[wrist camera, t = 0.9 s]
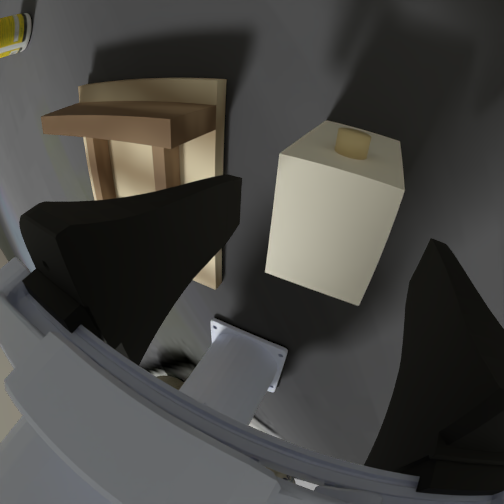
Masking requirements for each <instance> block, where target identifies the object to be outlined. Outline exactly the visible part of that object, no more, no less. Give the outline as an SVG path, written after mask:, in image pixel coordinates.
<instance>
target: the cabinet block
mask: <svg viewBox="0 0 504 504" xmlns="http://www.w3.org/2000/svg"><path fill="white" fill-rule="evenodd" d="M404 191H405V186H404V174H403V163H402V154H401V146H400V141H398V140H395V139H392V138H389V137H385V136H382V135H379V134H376V133H372V132H369V131H366V130H362V129H359V128H355V127H351V126H347V125H344V124H340V123H336V122H332V121H327V120H326V121H324V122H323V123H322V124H320V125H319V126H317V127H316V128H314V129H313V130H311V131H310V132H309V133H307V134H306V135H304V136H303V137H302V138H300V139H299V140H297V141H296V142H295V143H293V144H292V145H291V146H289V147H288V148H286V149H285V150H284V151H282V152H281V153H280V154H279V163H278V171H277V180H276V188H275V197H274V205H273V213H272V221H271V229H270V237H269V245H268V253H267V261H266V268H265V273H268V274H271V275H273V276H276V277H279V278H282V279H284V280H287V281H290V282H293V283H295V284H298V285H301V286H304V287H306V288H309V289H312V290H315V291H318V292H320V293H323V294H326V295H329V296H332V297H334V298H337V299H340V300H343V301H346V302H348V303H351V304H354V305H357V306H359V304H360V302H361V300H362V298H363V296H364V294H365V291H366V289H367V287H368V285H369V283H370V280H371V278H372V276H373V273H374V271H375V269H376V266H377V264H378V262H379V259H380V257H381V254H382V252H383V249H384V247H385V244H386V242H387V239H388V236H389V234H390V231H391V229H392V226H393V223H394V220H395V218H396V215H397V212H398V209H399V206H400V203H401V200H402V197H403V194H404Z"/></svg>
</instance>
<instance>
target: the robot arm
mask: <svg viewBox="0 0 504 504" xmlns="http://www.w3.org/2000/svg"><path fill="white" fill-rule="evenodd" d="M241 185H242V178H240V177H236V176H232V175H220V176H214V177H210V178H206V179H202V180H198V181H194V182H190V183H186V184H183V185H179V186H175V187H171V188H167V189H163V190H159V191H154V192H150V193H145V194H140V195H134V196H128V197H121V198H113V199H105V200H95V201H79V202H42V203H39V204H37V205H36V206H34V207H33V208H31V209H30V210H28V211H27V212H25V213H24V214H23V215H21V217H20V222H19V223H20V230H21V234H22V237H23V239H24V242H25V244H26V247H27V249H28V251H29V254H30V256H31V258H32V261H33V263H34V265H35V267H36V269H35V270H34V271H33V272H32V273H31V272H30V271H29V269H28V268H27V267H26V266H25V265H24V264H23V263H22V262H21V261H20V260H19V259H18V258H17V257H14V258H13V259H11V260H10V261H9V262H8V263H7V264H5V265H4V266H3V267H2V268H1V269H0V347H1V348H2V350H3V352H4V353H5V355H6V357H7V358H8V360H9V362H10V363H11V365H12V367H13V368H14V370H13V371H12V372H11V373H10V374H9V375H8V376H7V377H6V378H5V380H4V382H5V390H6V392H7V393H8V395H9V396H10V398H11V399H12V401H13V403H14V405H15V406H16V407H17V409H18V410H19V411H20V412H21V414H22V415H23V416H22V417H21V419H20V420H19V421H18V422H17V423H16V424H15V426H14V427H13V428H12V429H11V431H10V432H9V433H8V434H7V435H6V437H5V438H4V439H3V441H2V442H1V443H0V504H504V329H503V328H502V326H501V325H500V324H499V322H498V321H497V319H496V318H495V317H494V315H493V314H492V312H491V311H490V310H489V308H488V307H487V305H486V304H485V302H484V301H483V299H482V298H481V296H480V294H479V293H478V291H477V290H476V288H475V287H474V285H473V284H472V282H471V280H470V279H469V277H468V276H467V274H466V272H465V271H464V269H463V268H462V266H461V265H460V263H459V261H458V260H457V258H456V257H455V255H454V254H453V253H452V251H451V250H450V248H449V247H448V246H447V245H446V244H445V243H442V242H440V241H437V240H435V239H432V238H431V239H430V241H429V243H428V246H427V248H426V250H425V252H424V254H423V256H422V258H421V260H420V262H419V264H418V266H417V268H416V270H415V272H414V274H413V276H412V278H411V280H410V282H409V288H408V294H407V300H406V306H405V321H404V335H403V346H402V356H401V362H400V368H399V372H398V376H397V380H396V384H395V388H394V391H393V395H392V398H391V401H390V404H389V407H388V410H387V413H386V416H385V419H384V421H383V424H382V426H381V429H380V432H379V434H378V436H377V439H376V441H375V443H374V446H373V448H372V450H371V452H370V454H369V456H368V458H367V460H366V462H365V464H364V465H360V464H356V463H352V462H348V461H345V460H341V459H338V458H334V457H331V456H328V455H325V454H321V453H318V452H315V451H312V450H309V449H306V448H303V447H301V446H298V445H295V444H292V443H290V442H287V441H284V440H282V439H279V438H277V437H274V436H272V435H269V434H267V433H264V432H262V431H260V430H257V429H255V428H253V427H250V426H248V425H249V423H250V421H251V420H252V418H253V416H254V414H255V412H256V411H257V409H258V407H259V405H260V403H261V401H262V399H263V397H264V396H265V394H266V392H267V391H270V392H274V391H275V390H276V387H277V384H278V381H279V378H280V375H281V372H282V369H283V366H284V363H285V359H286V356H287V353H288V350H287V349H286V348H284V347H282V346H280V345H277V344H275V343H272V342H270V341H267V340H265V339H262V338H260V337H258V336H255V335H253V334H250V333H248V332H246V331H243V330H241V329H239V328H236V327H234V326H232V325H230V324H227V323H225V322H223V321H221V320H218V319H216V318H213V319H212V320H211V337H212V345H211V346H210V348H209V349H208V350H207V352H206V353H205V355H204V356H203V357H202V359H201V360H200V362H199V363H198V364H197V366H196V367H195V369H194V370H193V371H192V373H191V374H190V375H189V377H188V378H187V380H186V381H185V382H184V384H183V385H182V386H181V388H180V389H179V390H177V389H175V388H174V387H172V386H170V385H169V384H167V383H165V382H164V381H162V380H160V379H159V378H157V377H155V376H154V375H152V374H151V373H149V372H147V371H146V370H144V369H143V368H141V367H140V366H139V364H140V362H141V360H142V358H143V356H144V354H145V352H146V351H147V349H148V347H149V345H150V343H151V341H152V340H153V338H154V336H155V334H156V333H157V331H158V329H159V328H160V326H161V324H162V323H163V321H164V319H165V318H166V316H167V315H168V313H169V312H170V310H171V309H172V307H173V306H174V304H175V303H176V301H177V300H178V298H179V297H180V296H181V294H182V293H183V291H184V290H185V289H186V287H187V286H188V285H189V283H190V282H191V281H192V280H193V279H194V278H195V276H196V275H197V274H198V273H199V272H200V271H201V270H202V269H203V268H204V267H205V266H206V265H207V263H208V262H209V261H210V260H211V259H212V258H213V257H214V256H215V255H216V254H217V253H218V252H219V250H220V249H221V248H222V247H223V246H224V245H225V244H226V243H227V241H228V240H229V239H230V237H231V236H232V234H233V233H234V231H235V230H236V228H237V227H238V225H239V224H240V204H241ZM264 466H265V467H264ZM266 467H267V468H270V469H273V470H275V471H278V472H281V473H283V474H286V475H289V476H292V477H295V478H298V479H301V480H304V481H307V482H310V483H313V484H317V485H319V486H317V487H316V488H315V490H314V491H313V490H310V489H307V488H304V487H302V486H299V485H297V484H294V483H292V482H289V481H287V480H284V479H282V478H280V477H277V476H275V474H274V472H272V471H271V470H269V469H267V468H266Z"/></svg>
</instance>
